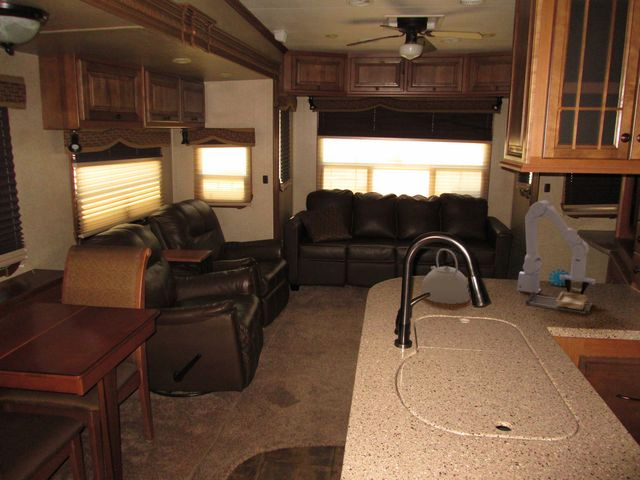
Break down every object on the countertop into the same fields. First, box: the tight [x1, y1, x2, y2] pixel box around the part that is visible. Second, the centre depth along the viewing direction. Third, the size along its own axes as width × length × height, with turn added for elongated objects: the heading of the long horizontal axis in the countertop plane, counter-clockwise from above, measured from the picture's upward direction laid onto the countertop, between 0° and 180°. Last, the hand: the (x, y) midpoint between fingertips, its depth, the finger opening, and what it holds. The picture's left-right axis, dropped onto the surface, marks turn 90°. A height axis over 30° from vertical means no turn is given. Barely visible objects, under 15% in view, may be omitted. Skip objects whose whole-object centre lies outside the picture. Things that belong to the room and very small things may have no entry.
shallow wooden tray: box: [555, 291, 588, 310], centre depth 228 cm, size 11×16×3 cm
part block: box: [570, 287, 582, 294], centre depth 238 cm, size 4×4×5 cm
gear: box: [548, 268, 573, 287], centre depth 262 cm, size 11×6×10 cm
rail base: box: [525, 292, 593, 316], centre depth 231 cm, size 25×16×2 cm, turn 57°
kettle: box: [420, 248, 471, 305], centre depth 241 cm, size 25×23×22 cm
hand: (575, 296), depth 238 cm, fingers open, 5 cm apart
